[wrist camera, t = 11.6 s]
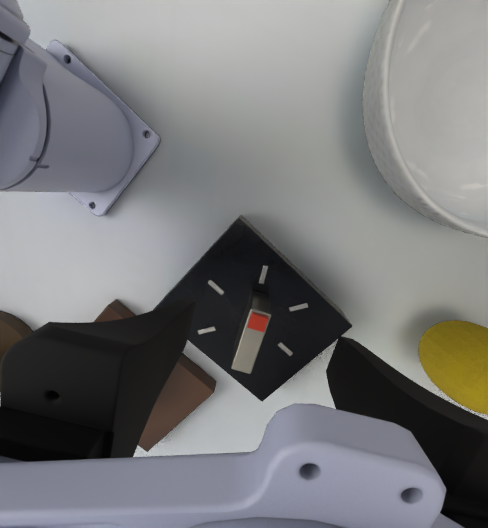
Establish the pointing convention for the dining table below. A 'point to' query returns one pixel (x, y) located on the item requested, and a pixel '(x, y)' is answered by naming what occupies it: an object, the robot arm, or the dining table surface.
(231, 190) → the dining table surface
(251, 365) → the dimmer knob
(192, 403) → the lamp switch
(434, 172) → the cereal bowl
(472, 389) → the lemon
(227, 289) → the dimmer
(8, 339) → the desk lamp
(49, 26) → the dining table surface
